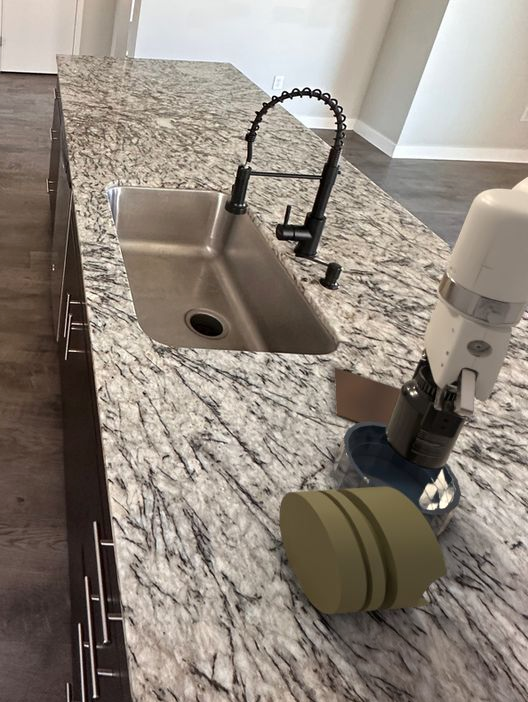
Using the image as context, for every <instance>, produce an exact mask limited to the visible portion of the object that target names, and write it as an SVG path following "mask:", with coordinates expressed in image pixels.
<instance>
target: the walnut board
mask: <svg viewBox="0 0 528 702" xmlns="http://www.w3.org/2000/svg"><path fill="white" fill-rule="evenodd" d="M333 379H334V395H335V396H334V399H335V416H337V417H340V418H342V419H345V420H348V421H351V422H354V423H355V424H357V423H363V422H376V423H382V424H388V421H389V418H390V416H391V413H392V410H393V408H394V405H395V403H396V400H397V397H398V395H399V392H400V390H401V388H398V387H394V386H392V385H389V384H386V383H383V382H381V381H376V380H374V379H370V378H367V377H365V376H361V375H359V374H355V373H352V372H349V371H347V370H344V369H341V368H338V367H333Z"/></svg>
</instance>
